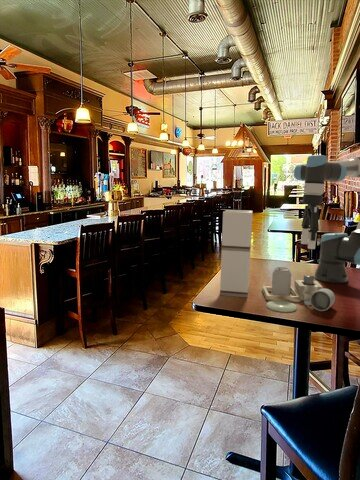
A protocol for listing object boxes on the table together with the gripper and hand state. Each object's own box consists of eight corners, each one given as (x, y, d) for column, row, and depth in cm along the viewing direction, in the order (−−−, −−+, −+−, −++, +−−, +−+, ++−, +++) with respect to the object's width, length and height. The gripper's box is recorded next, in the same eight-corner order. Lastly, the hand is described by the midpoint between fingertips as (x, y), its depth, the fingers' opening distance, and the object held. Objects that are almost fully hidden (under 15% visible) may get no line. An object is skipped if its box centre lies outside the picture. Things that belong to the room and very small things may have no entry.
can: (275, 292, 158) (277, 265, 157) (292, 295, 154) (294, 268, 152) (268, 296, 153) (269, 268, 151) (285, 300, 148) (287, 271, 146)
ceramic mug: (335, 307, 141) (336, 288, 140) (330, 313, 134) (331, 293, 133) (307, 302, 147) (308, 283, 146) (301, 307, 140) (302, 288, 139)
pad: (293, 303, 145) (293, 301, 144) (299, 312, 134) (299, 310, 134) (265, 301, 146) (265, 299, 145) (269, 311, 135) (269, 309, 135)
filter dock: (314, 292, 158) (315, 279, 158) (323, 303, 145) (324, 288, 144) (262, 290, 160) (262, 277, 160) (266, 300, 147) (267, 285, 146)
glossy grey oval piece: (311, 286, 153) (312, 275, 153) (314, 289, 149) (315, 277, 149) (302, 286, 154) (302, 274, 153) (304, 289, 150) (305, 277, 149)
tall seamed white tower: (248, 290, 161) (252, 210, 155) (247, 297, 151) (251, 212, 145) (222, 287, 163) (225, 209, 158) (219, 295, 153) (223, 211, 147)
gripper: (297, 193, 160) (292, 241, 163) (310, 194, 136) (304, 250, 139) (315, 194, 159) (310, 242, 162) (331, 195, 135) (324, 251, 138)
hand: (307, 246), depth 150 cm, fingers open, 13 cm apart
